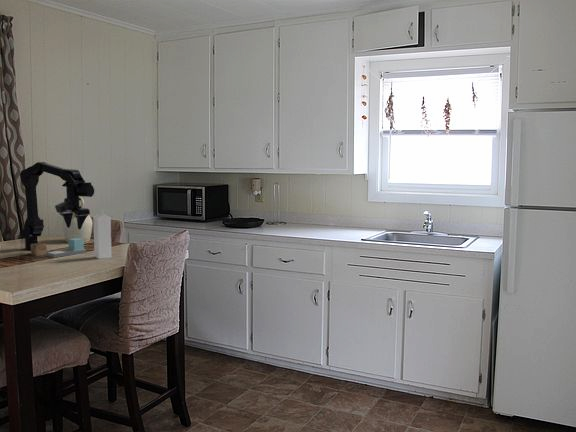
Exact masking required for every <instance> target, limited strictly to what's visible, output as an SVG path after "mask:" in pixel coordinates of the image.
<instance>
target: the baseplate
mask: <svg viewBox="0 0 576 432" xmlns="http://www.w3.org/2000/svg"><path fill="white" fill-rule="evenodd" d="M87 253H88V251H87V249H85V248H84V249H82V250H76V251H74V250H69V248H68V249H62V250H55V251H47V253H46V254H45V256H46V257H50V258H54V259H55V258H60V257H67V256H73V255H80V254H87Z"/></svg>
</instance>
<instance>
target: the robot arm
mask: <svg viewBox="0 0 576 432" xmlns="http://www.w3.org/2000/svg"><path fill="white" fill-rule="evenodd" d="M44 173H47V174H51V175H52V176H56V177H58V178H60V179H61V180H63V181H65V182H64V183H63V184H62V185H61V186H62V187H64V188H65V189H66V197H65V198H64V199H63V202H60V203H58V204H55V205H54V209H55V210H56V213H58V214H59V215H60V216H62V217H63V218H64V220H65V222H66V225H67V228H70V225H71V220H72V215H73V213H74V214H75V215H74V216H75V217H76V218H77V225H78V229H81V227H82V225H83V223H84V221H85V219H86V217H87V216H88V215H91V210H90V209H89V208H88V207H87V208H86V207H85V208H84V207H82V208H81V207H80V206H81V204H80V201H81V198H79V196H80V197H82V198H84V197H87V198H92V197H93V196H94V194H95V187H94V186H93V185H92V182H89V181H88V182H87V181H85V179H84V178H83V176H82V174H81V172H80V170H78V169H74V168H73V169H72V168H71V169H69V168H63V167H60V166H56V165H53V164H50V163H48V162H47V163H46V162H45V161H38V162H36V163H34V164H33V165H31V166H29V167H26V169H23V170H21V171H20V172H19V178H20V182H21V184H22V185H23V187H24V191H25V201H26V202H25V203H26V220H25V221H24V225H23V226H24V227H23V229H22V230H21V232H20V233H19V236H20V238H21V239H24V247H22V248H21V250H24V251H31V244H36V243H39V242H38V237H41V236H42V232H43V231H44V228H45V225H44V219H41V218H40V215H39V209H38V208H39V207H38V198H37V197H38V195H37V186H38V183H40V182H39V181H40V176H41V175H43V174H44ZM71 212H73V213H71ZM63 218H62V219H63Z"/></svg>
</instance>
